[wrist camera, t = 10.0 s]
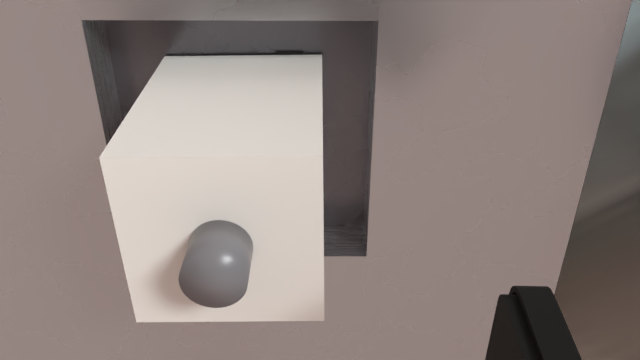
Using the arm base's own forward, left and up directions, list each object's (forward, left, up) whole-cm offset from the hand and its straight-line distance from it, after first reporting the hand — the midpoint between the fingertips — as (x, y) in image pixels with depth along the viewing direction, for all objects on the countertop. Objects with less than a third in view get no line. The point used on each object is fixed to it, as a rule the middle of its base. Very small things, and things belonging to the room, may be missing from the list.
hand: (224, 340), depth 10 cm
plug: (+1, 0, -9) cm, 9 cm away
